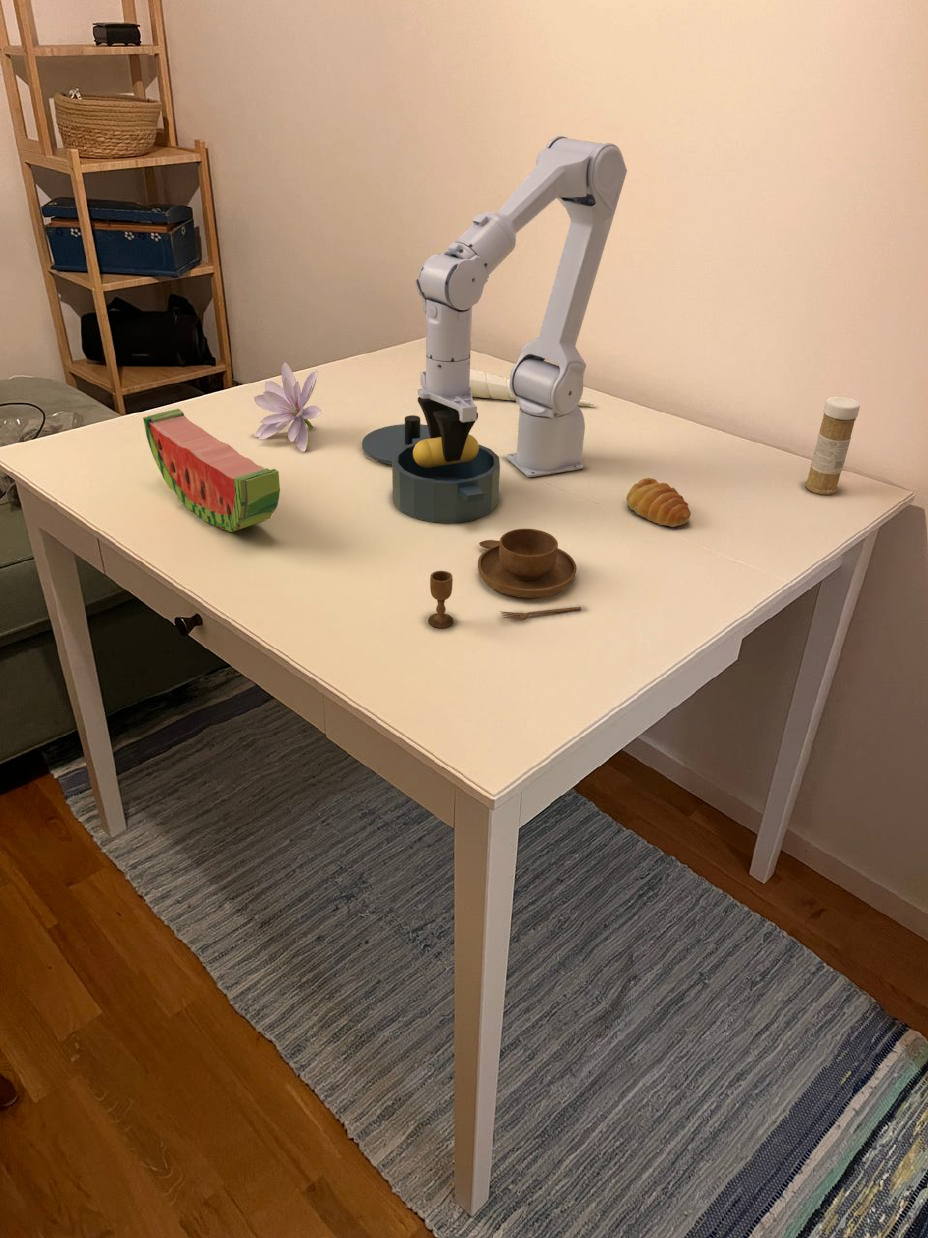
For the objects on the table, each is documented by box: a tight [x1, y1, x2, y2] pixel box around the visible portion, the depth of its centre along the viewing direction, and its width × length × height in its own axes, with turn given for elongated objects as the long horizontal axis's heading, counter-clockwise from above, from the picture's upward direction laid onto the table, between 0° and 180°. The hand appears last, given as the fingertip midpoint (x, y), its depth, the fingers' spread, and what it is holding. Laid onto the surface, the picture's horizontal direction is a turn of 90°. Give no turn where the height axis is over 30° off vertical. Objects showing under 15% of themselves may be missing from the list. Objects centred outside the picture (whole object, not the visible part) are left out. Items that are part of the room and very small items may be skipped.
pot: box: [391, 437, 501, 524], centre depth 129 cm, size 15×20×6 cm
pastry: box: [625, 477, 692, 528], centre depth 127 cm, size 9×7×4 cm
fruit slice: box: [142, 408, 281, 533], centre depth 123 cm, size 26×6×10 cm, turn 41°
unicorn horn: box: [469, 367, 595, 407], centre depth 162 cm, size 5×24×5 cm, turn 75°
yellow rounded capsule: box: [413, 433, 480, 468], centre depth 126 cm, size 9×4×4 cm, turn 113°
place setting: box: [427, 528, 582, 629], centre depth 110 cm, size 18×20×6 cm
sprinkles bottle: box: [805, 395, 861, 495], centre depth 133 cm, size 5×5×14 cm
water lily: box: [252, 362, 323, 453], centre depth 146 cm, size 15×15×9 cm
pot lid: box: [361, 414, 430, 465], centre depth 143 cm, size 16×16×5 cm
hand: (446, 453), depth 127 cm, fingers closed on yellow rounded capsule, 4 cm apart
